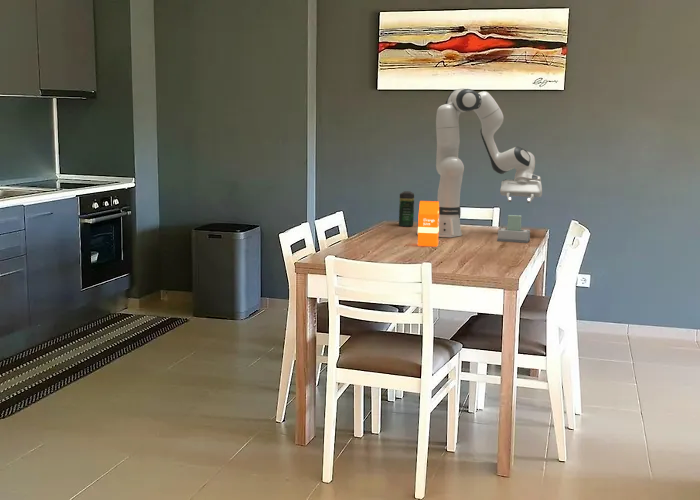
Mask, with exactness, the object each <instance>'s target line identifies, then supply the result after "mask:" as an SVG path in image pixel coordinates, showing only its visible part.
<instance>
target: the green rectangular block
mask: <svg viewBox="0 0 700 500" xmlns="http://www.w3.org/2000/svg"><path fill="white" fill-rule="evenodd" d="M522 216H523V215H520V214H519V215H518V214H508V215H507V228H506V229H507V230H510V231H521V229H522Z"/></svg>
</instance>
